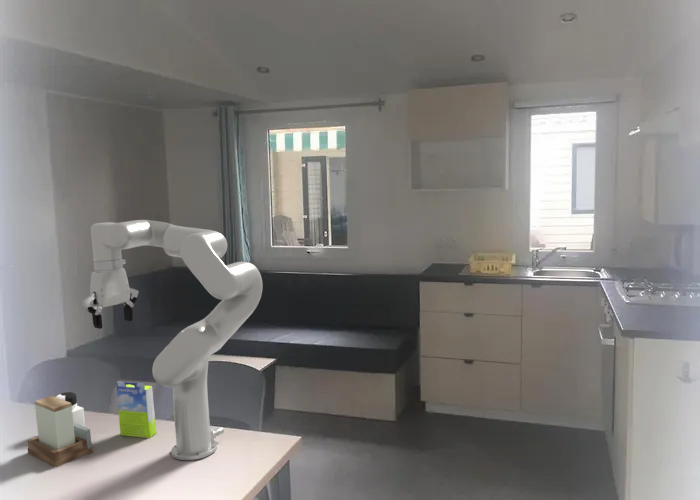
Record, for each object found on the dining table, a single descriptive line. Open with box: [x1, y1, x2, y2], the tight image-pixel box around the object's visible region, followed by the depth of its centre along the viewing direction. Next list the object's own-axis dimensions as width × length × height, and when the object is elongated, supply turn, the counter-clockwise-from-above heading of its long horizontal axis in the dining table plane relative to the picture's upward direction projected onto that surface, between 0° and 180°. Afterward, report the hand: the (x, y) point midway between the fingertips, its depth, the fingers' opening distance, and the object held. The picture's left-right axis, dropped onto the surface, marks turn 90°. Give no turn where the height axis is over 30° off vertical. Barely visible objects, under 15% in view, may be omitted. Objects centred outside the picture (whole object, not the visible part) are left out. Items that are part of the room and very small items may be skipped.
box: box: [115, 381, 157, 439], centre depth 187 cm, size 10×4×17 cm, turn 74°
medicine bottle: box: [55, 391, 86, 427], centre depth 192 cm, size 7×7×12 cm
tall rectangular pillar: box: [34, 395, 75, 450], centre depth 176 cm, size 5×11×14 cm, turn 53°
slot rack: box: [26, 423, 93, 468], centre depth 177 cm, size 11×16×7 cm
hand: (113, 324), depth 177 cm, fingers open, 9 cm apart
